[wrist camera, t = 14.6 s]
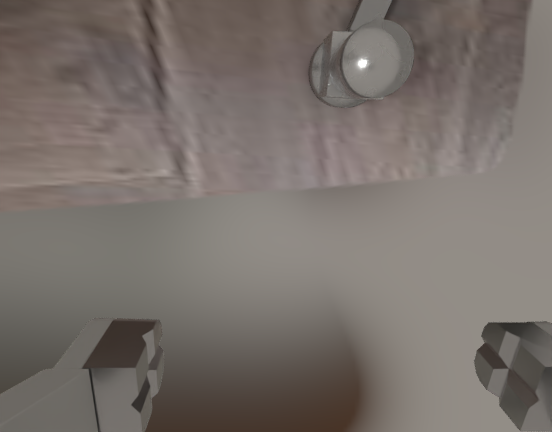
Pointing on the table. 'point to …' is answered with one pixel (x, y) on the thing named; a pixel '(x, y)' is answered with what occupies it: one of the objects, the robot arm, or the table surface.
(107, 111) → the table surface
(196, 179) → the table surface
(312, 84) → the ratchet
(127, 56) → the table surface
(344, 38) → the cylinder on square base
